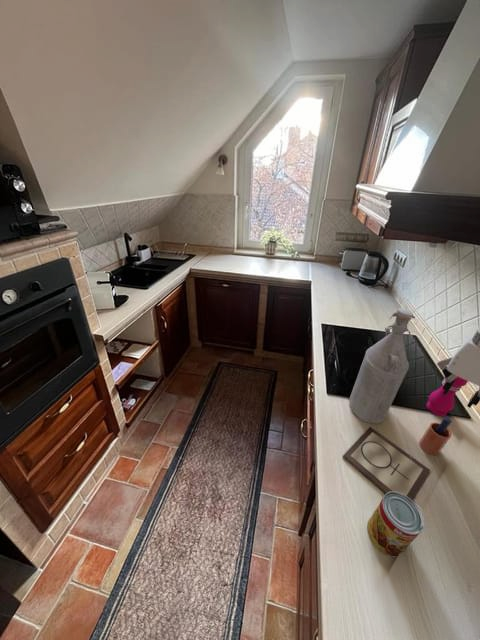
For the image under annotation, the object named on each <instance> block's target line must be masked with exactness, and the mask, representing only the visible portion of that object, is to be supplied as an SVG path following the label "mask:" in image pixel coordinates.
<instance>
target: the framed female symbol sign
mask: <svg viewBox="0 0 480 640" xmlns="http://www.w3.org/2000/svg"><path fill="white" fill-rule="evenodd" d="M342 458H343V459H344V460H345V461H346V462H348V463H349V464H350V465H351V466H353V468H354V469H356V470H357V471H358V472H359V473H360V474H362V475H363V476H364V477H365V478H366V479H368V481H370V482H371V483H372V484H373V485H374V486H376V488H378V489H379V490H380V491H381V492H383V494H384V495H385V494H386V493H388V492H391V491H395V492H399V493H402V494H404V495H406V496H407V497H409V498H410V499H411V500H412V501H413V502H414V499H415V498H416V496H417V494H418V492H419V491H420V489H421V487H422V486H423V485H424V483H425V481H426V479H427V478H428V475H429V474H430V472H431V469H430V468H429V467H427V466H425V465H424V464H423V463H422V462H420V461H418V460H417V459H416V458H414V457H413V456H411V455H410V454H409V453H407V452H406V451H405V450H403V449H402V448H401V447H399V446H398V445H397V444H395V442H394V443H393V442H392V441H391V440H389V439H388V438H386V437H385V436H384V435H382V434H381V433H380V432H379V431H377V430H375V429H374V428H373V427H371V426H369V427H368V428H367V429H366V430H365V431H364V433H362V435H361V436H360V437H359V438H358V439H357V440H356V441H355V442H354V443H353V444H352V445H351V446H350V447H349V448H348V450H346V451H345V452H344V453H343V454H342Z"/></svg>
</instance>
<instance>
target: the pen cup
mask: <svg viewBox="0 0 480 640" xmlns="http://www.w3.org/2000/svg"><path fill="white" fill-rule="evenodd" d="M440 423H441V422H431V423H430V424H429V426H428V427H427V429H426V431H425V432H424V434H423V435H422V437H421V438H420V440H419V441H418V444H419V446H420V448H421V450H422V451H424V452H425V453H426V454H428V455H431V456H437V455H439V454H440V453H441V451H443V449H444V447H445V446H446V444H447V443H448V441H449V440H450V439H451V437H452V432H451V431H450V429H449V427H448V428H447V429H446V430H445V432H444V433H443V435H442V436H440V435H438V434H437V433H435V431H436V429H437V428H438V426H439V425H440Z"/></svg>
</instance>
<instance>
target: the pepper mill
mask: <svg viewBox="0 0 480 640" xmlns="http://www.w3.org/2000/svg"><path fill="white" fill-rule="evenodd" d="M443 376H444V375H443ZM468 382H469V381H467V380H465V379H463V378H460V377H457V378H455V382H454V383H453V385H452V387H451V388H450V390H449V391H448V393H447V394H446V395H444V394H443V392H444V391H445V390H444V389H442V388H443V386H444V384H445V383H446V378H445V376H444V378H443V380H442V381H441V383H442V385H441V386H440V387H439V388H438V389H436V390H433V391H432V392H431V393H430V394H429V396H428V401H427V403H426V405H425V407H426V408H427V410H428V411H429V412H430V413H432V414H433V415H436V416H439V417H446V416H447V414H448V413H449V412H450V411H452V410H453V409H454V407H455V404H456V403H455V395H456V393H457V392H459V391H461V389H462V387H465V386H466V385H467V384H468Z"/></svg>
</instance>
